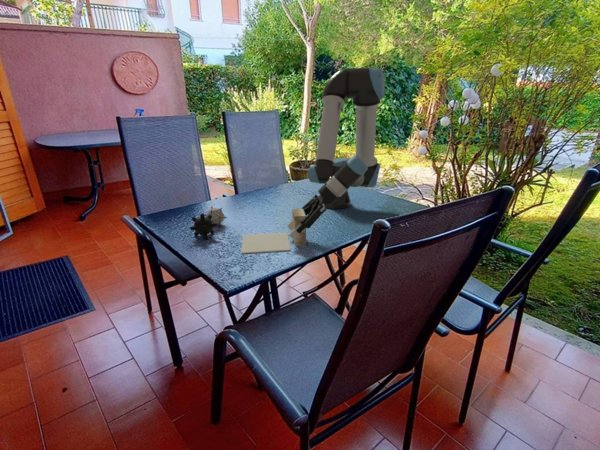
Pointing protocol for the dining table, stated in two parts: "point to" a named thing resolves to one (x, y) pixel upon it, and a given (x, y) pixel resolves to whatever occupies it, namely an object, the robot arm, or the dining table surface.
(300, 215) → the green and tan block
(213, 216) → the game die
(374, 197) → the dining table surface
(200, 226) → the toy ball
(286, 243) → the mat
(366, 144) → the robot arm
